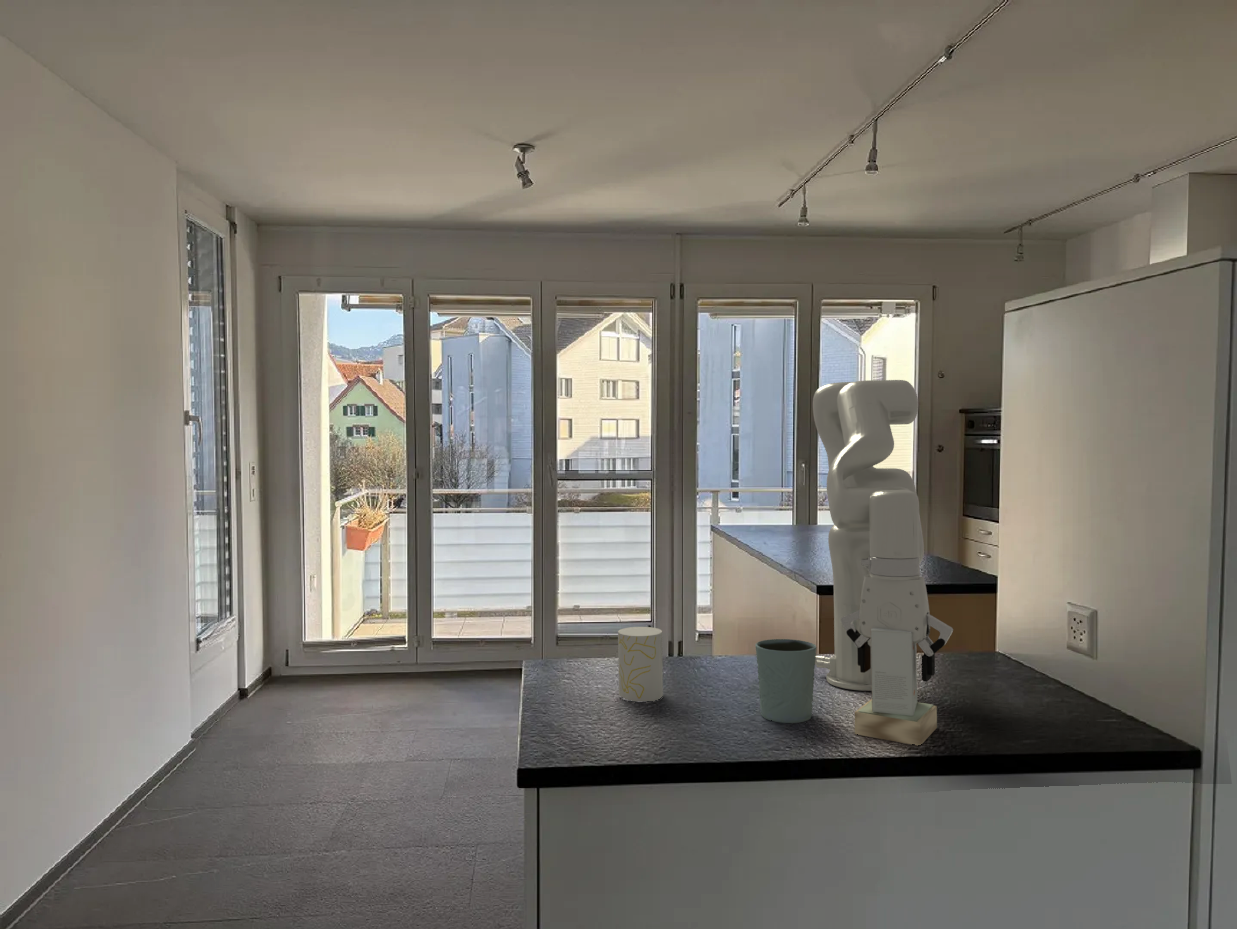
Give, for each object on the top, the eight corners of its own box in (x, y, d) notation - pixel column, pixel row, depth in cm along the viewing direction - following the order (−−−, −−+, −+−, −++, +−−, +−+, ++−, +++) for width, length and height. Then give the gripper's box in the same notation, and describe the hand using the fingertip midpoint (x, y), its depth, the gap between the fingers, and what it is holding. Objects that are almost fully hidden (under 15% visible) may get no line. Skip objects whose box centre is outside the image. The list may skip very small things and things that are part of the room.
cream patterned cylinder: (612, 700, 151) (611, 634, 150) (628, 688, 158) (627, 625, 158) (654, 704, 147) (653, 637, 147) (668, 692, 155) (668, 628, 155)
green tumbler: (751, 720, 138) (750, 649, 138) (762, 703, 147) (761, 636, 147) (813, 727, 134) (812, 653, 134) (820, 709, 144) (819, 640, 144)
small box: (877, 698, 137) (876, 619, 137) (917, 702, 134) (917, 622, 134) (870, 712, 129) (869, 629, 129) (913, 717, 127) (912, 632, 127)
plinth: (854, 734, 130) (854, 710, 130) (874, 717, 139) (874, 695, 139) (920, 746, 125) (919, 721, 125) (936, 727, 133) (936, 704, 133)
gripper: (833, 567, 133) (834, 672, 134) (945, 574, 123) (946, 689, 124) (849, 561, 139) (850, 663, 140) (957, 568, 130) (958, 677, 130)
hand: (895, 675), depth 132 cm, fingers open, 9 cm apart
